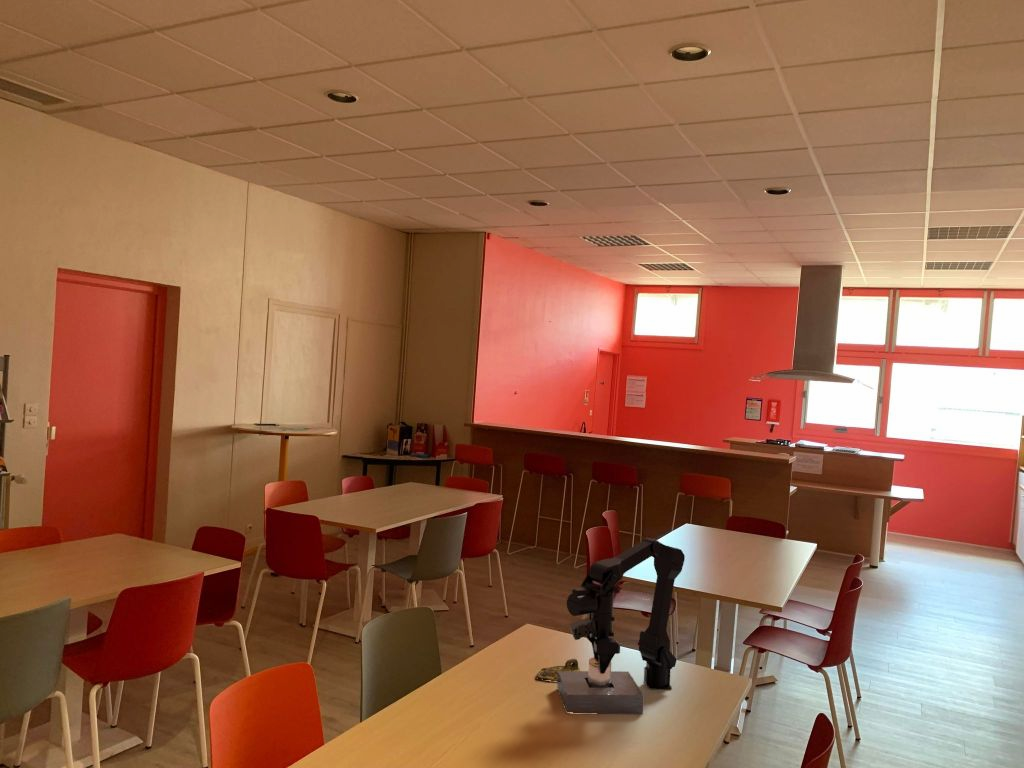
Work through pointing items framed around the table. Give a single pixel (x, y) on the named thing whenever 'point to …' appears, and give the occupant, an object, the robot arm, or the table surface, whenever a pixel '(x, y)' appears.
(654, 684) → the robot arm
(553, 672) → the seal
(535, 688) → the table surface
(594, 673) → the end cover
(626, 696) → the housing
